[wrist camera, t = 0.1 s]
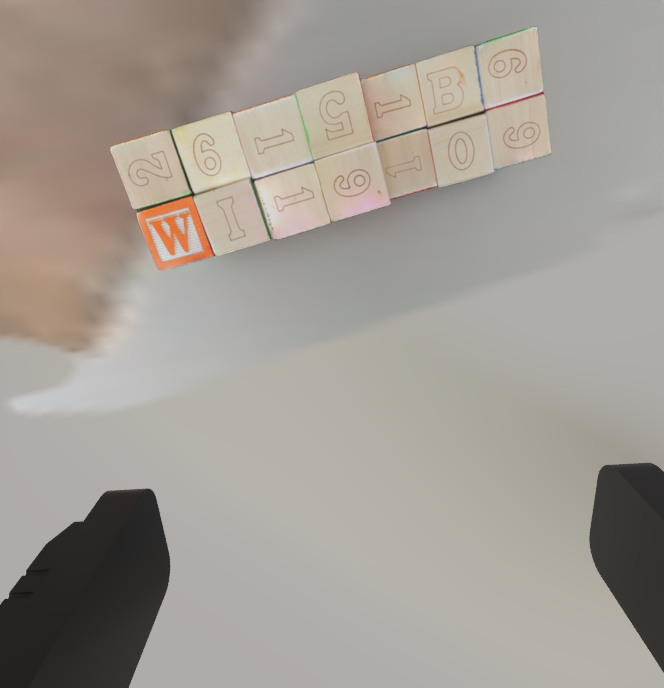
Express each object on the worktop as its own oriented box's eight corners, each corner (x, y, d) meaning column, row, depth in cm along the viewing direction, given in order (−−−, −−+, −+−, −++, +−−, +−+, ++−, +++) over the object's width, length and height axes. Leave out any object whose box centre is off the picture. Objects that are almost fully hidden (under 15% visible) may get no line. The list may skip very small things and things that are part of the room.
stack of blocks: (484, 62, 32) (569, 4, 21) (498, 160, 34) (582, 157, 23) (181, 152, 34) (103, 145, 23) (212, 239, 36) (155, 274, 25)
